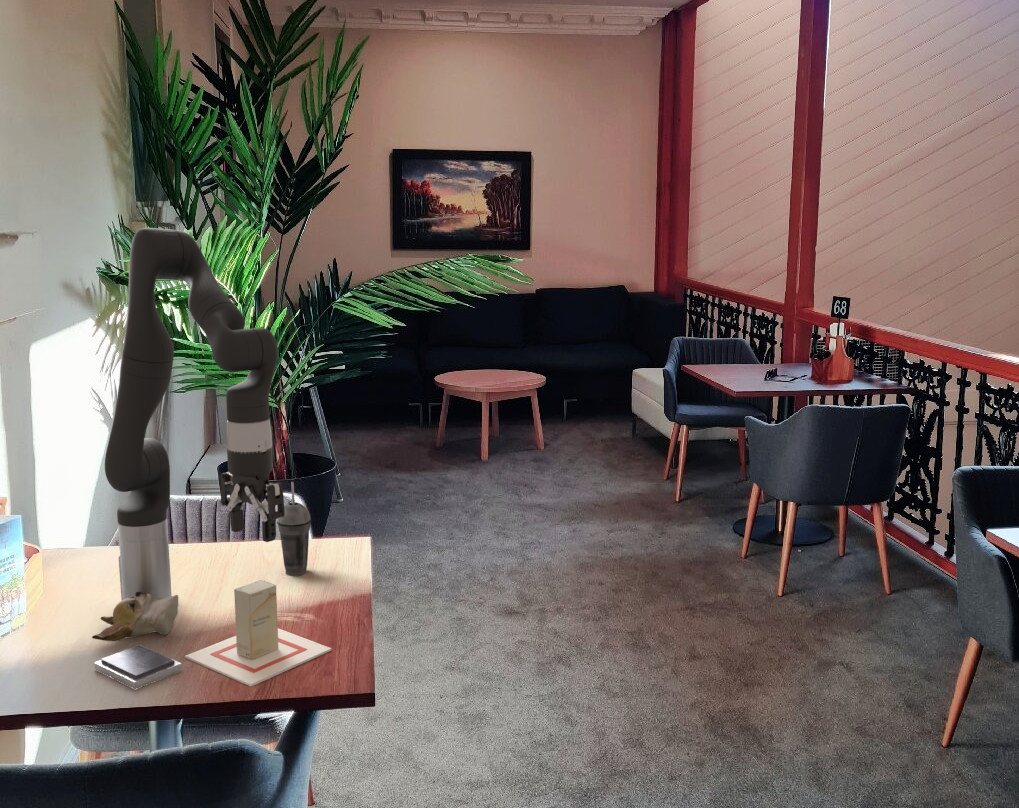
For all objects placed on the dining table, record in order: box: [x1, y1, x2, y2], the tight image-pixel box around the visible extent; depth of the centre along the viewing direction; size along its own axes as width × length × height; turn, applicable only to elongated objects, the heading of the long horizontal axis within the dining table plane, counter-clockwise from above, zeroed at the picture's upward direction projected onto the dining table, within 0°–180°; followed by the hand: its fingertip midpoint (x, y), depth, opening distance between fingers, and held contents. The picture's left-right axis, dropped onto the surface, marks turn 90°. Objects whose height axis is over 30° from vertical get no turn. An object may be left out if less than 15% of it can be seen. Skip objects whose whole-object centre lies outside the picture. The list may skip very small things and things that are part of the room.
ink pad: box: [93, 644, 183, 690], centre depth 176 cm, size 12×9×2 cm
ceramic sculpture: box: [91, 592, 179, 642], centre depth 191 cm, size 11×9×15 cm
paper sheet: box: [184, 627, 332, 687], centre depth 183 cm, size 18×18×1 cm
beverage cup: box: [276, 481, 312, 577], centre depth 222 cm, size 7×7×20 cm
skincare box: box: [233, 579, 279, 659], centre depth 182 cm, size 6×4×12 cm
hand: (253, 535), depth 179 cm, fingers open, 8 cm apart
